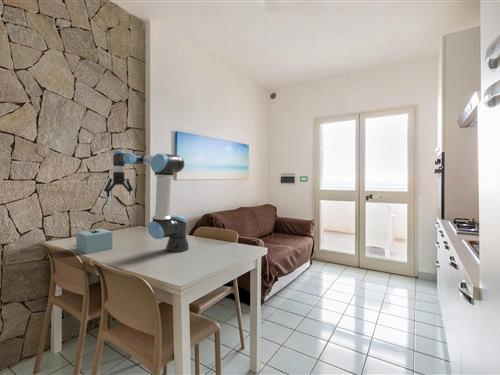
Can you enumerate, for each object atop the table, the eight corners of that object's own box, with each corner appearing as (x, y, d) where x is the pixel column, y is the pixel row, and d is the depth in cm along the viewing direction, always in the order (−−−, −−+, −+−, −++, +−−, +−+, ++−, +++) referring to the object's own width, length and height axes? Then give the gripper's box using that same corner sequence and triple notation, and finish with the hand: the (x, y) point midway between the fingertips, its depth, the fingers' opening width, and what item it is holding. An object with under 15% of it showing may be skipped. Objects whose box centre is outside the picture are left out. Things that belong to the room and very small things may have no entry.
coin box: (112, 248, 178) (112, 231, 177) (86, 254, 165) (86, 235, 164) (101, 244, 187) (101, 228, 187) (76, 249, 174) (76, 231, 174)
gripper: (132, 172, 203) (132, 199, 203) (98, 171, 182) (98, 201, 183) (137, 172, 198) (137, 200, 199) (103, 171, 178) (103, 202, 179)
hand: (118, 200), depth 191 cm, fingers open, 13 cm apart
